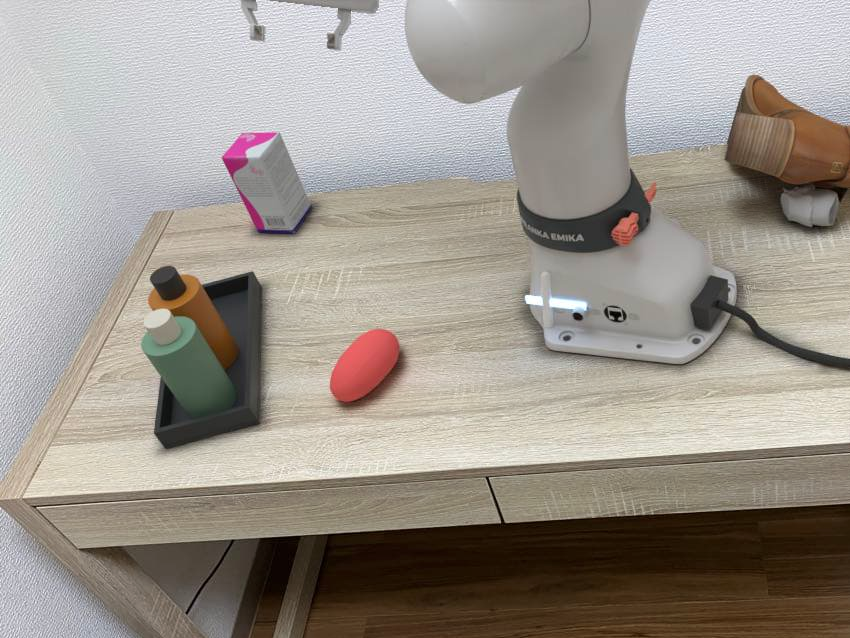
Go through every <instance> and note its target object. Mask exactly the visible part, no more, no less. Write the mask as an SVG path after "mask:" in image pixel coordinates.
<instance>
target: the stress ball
mask: <svg viewBox="0 0 850 638" xmlns="http://www.w3.org/2000/svg"><path fill="white" fill-rule="evenodd" d="M400 347H401V346H400V341H399V339H398V338H397V336H396V335H395V333H393V332H392V331H390V330H388V329H385V328H374V329H370V330H368V331H365V332H364V333H362V334H361V335H359V336H358V337H357V338H356V339H355V340H354V341H353V342H352V343H351V344H350V345H349V346H348V347H347V348H346V349H345V351H344V352H343V353H342V354H341V355H340V357H339V358H338V360H337V361H336V363H335V365H334V367H333V370H332V371H331V376H330V379H329V390H330V392H331V394H332V396H333V397H334V398H335V399H336V400H338V401H341V402H345V403H349V402H352V401H356V400H359V399H361V398H363V397H365V396H366V395H368V394H369V393H370V392H371V391H373V390H374V389H375V388H376V387H377V386H378V385H379V384H380V383H381V382H382V381H383V380H384V379H385V378H386V376H387V375H388V374H390V372H391V370H392V369H393V368H394V367H395V365H396V363H397V361H398V359H399V356H400V349H401V348H400Z"/></svg>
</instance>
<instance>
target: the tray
mask: <svg viewBox="0 0 850 638" xmlns="http://www.w3.org/2000/svg"><path fill="white" fill-rule="evenodd" d="M258 279H259V278H258V277H257V276H256V273H255V272H254V270H251V271H247V272H243V273H240V274H236V275H233V276H229V277H226V278H221V279H218V280H214V281H211V282H207V283H204V284H201V285H202V287H203V288H204V290H205V292H206V293H207V295H208V297H209V298H210V300H211V302H212V304H213V305H214V307H215V309H216V310H217V312H218V314H219V315H220V317H221V319H222V321H223V322H224V324H225V326H226V327H227V329H228V331H229V332H230V334H231V336H232V338H233V339H234V341H235V343H236V344H237V346H238V349H239V353H238V356H237V358H236V360H235V362H234V363H233V364H232V365H231V366H230V367H228V368H227V369H226V370H224V371H225V373H226V374H227V376H228V377H229V379H230V381H231V382H232V384H233V385H234V387H235V389H236V391H237V398H236V401H235V403H234V405H233V406H232V407H231V408H230V409H228V410H224V411H220V412H217V413H213V414H209V415H206V416H202V417H198V418H194V419H191V418H190V417H189V416H188V414H187V413H186V412H185V410H184V409H183V407H182V406H181V404H180V403H179V402H178V400H177V399H176V397H175V396H174V394H173V393H172V392H171V390H170V389H169V387H168V386H167V384H166V383H165V382H164V380H163V379H162V377H161V376H160V379H159V388H158V397H157V404H156V410H155V411H156V412H155V420H154V427H153V435H154V436H155V437H156V438H157V440H158V441H159V442H160V444H161V445H162V447H163V448H164V449H165V450H167V449H170V448H174V447H179V446H181V445H186V444H188V443H192V442H197V441H200V440H204V439H207V438H212V437H216V436H218V435H223V434H226V433H229V432H233V431H238V430H240V429H244V428H245V429H246V428H248V427H251V426H255V425H258V424H260V419H261V417H260V415H261V412H260V410H261V408H260V407H261V356H262V355H261V351H262V350H261V348H262V347H261V346H262V345H261V344H262V290H263V289H262V284H261V283H260V281H259V280H258Z"/></svg>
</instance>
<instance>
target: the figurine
mask: <svg viewBox="0 0 850 638" xmlns="http://www.w3.org/2000/svg"><path fill="white" fill-rule="evenodd" d="M782 190H783V192H782V193H781V195H780V204H781V207H782V211H783V214H784V216H785V217H786V218H787V220H788V222H796V223H798V224H800V225H803V226H806V227H808V228H809V227H810V228H811V227H813V225H814V226H819V227H830V226H834V224H835V222H836V218H837V214H838V210H839V207H840V205H841V201H840V200H839V196H838V193H837V192H836V191H834V190H832V189H826V188H816V186H815V185H813V184H810V183H807V184H805V185H803V186H796V187H794V188H792V189H791V190H788V189H786V188H785V187H782Z"/></svg>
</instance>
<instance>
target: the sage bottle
mask: <svg viewBox="0 0 850 638" xmlns="http://www.w3.org/2000/svg"><path fill="white" fill-rule="evenodd" d="M142 325H143V327H144V328H145V330H146V331H147V332H145V334H144V336H143V337H142V339H141V343H140V346H141V350H142V352H143V353H144V355H145V356H146V357H147V359H148V361H149V362H150V363H151V364H152V366H153V367H154V369H155V370H156V372H157V373H158V374H159V376H160V378H161V377H162V379H163V380H164V382H165V383H166V384H167V386H168V387H169V389H170V390H171V392H172V393H173V394H174V396H175V397H176V399H177V400H178V402H179V403H180V404H181V406H182V407H183V409H184V410H185V412H186V413H187V414H188V416H189V417H190V418H191V419H194V418H198V417H202V416H206V415H209V414H213V413H217V412H220V411H224V410H228V409H230V408H231V407H232V406H233V405H234V403H235V401H236V398H237V391H236V389H235V387H234V385H233V384H232V382H231V381H230V379H229V377H228V376H227V374H226V373H225V371H224V369H223V368H222V366H221V364H220V363H219V361H218V360H217V358H216V356H215V355H214V353H213V352H212V350H211V348H210V347H209V345H208V344H207V342H206V340H205V339H204V337H203V335H202V334H201V332H200V331H199V329H198V327H197V326H196V324H195V323H194V321H193V320H192V319H190V318H188V317H182V316H179V317H173V315H172V313H171V312H170V311H169V310H168V309H158V310H155V311H153V310H152V311H150V312H149V313H148V314H147V315H146V316H145V317H144V319H143V322H142Z"/></svg>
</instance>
